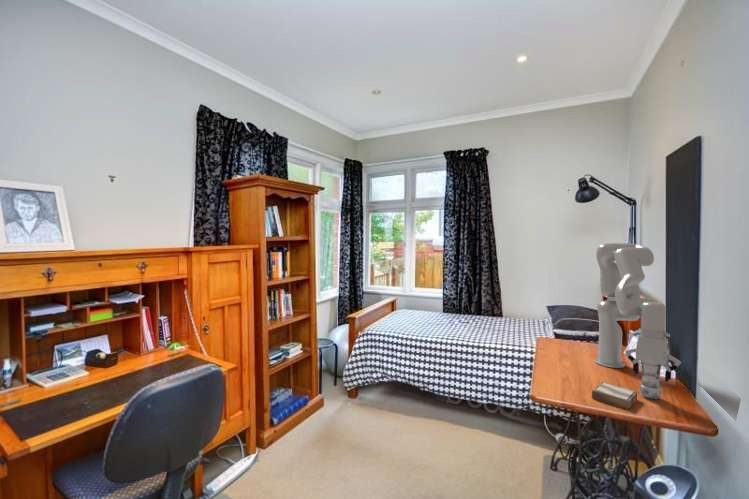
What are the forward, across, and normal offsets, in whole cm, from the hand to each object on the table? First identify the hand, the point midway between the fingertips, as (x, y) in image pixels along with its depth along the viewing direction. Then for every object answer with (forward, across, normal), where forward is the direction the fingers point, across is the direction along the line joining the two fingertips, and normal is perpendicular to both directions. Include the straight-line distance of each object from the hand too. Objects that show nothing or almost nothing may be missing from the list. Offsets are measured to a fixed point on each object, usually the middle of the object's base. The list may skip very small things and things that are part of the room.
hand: (651, 376), depth 139 cm
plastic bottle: (+9, 0, 0) cm, 9 cm away
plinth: (+8, +9, +12) cm, 17 cm away
